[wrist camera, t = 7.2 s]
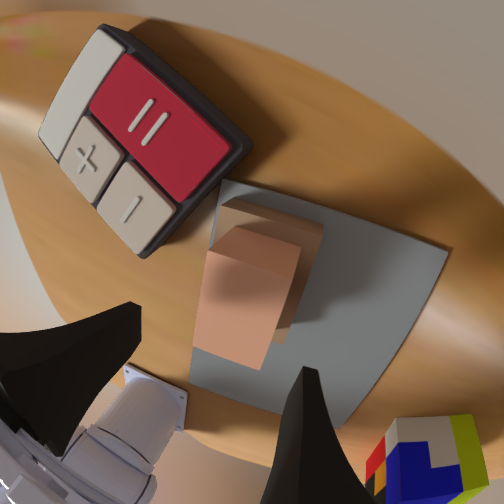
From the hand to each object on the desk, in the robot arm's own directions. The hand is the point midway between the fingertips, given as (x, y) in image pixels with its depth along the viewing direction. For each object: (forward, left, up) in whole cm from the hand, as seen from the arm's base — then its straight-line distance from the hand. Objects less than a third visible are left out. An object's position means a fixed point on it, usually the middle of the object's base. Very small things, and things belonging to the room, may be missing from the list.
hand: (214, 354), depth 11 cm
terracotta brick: (0, 0, -7) cm, 7 cm away
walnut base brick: (0, 0, -9) cm, 9 cm away
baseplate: (-5, -4, -10) cm, 12 cm away
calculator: (+7, +12, -10) cm, 17 cm away
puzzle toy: (-16, -23, -10) cm, 30 cm away
